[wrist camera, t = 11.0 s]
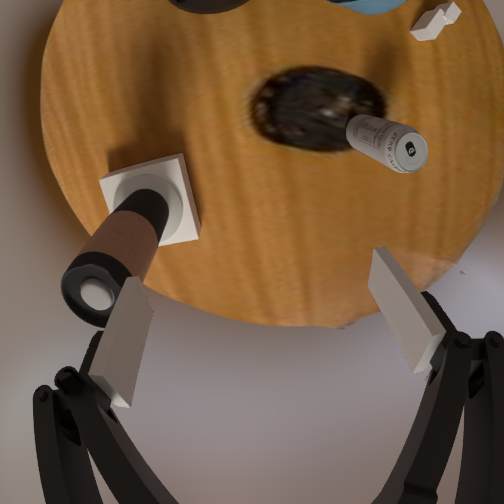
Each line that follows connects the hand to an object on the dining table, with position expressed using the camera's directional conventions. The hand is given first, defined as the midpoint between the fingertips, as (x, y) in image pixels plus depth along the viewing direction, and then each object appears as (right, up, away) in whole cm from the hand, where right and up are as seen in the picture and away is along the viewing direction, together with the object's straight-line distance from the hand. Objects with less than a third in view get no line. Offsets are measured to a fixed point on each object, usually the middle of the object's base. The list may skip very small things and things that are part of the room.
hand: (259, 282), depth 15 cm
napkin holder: (+31, +42, +13) cm, 54 cm away
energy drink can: (+17, +21, +24) cm, 36 cm away
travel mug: (-16, +8, +24) cm, 30 cm away
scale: (-16, +10, +28) cm, 34 cm away
